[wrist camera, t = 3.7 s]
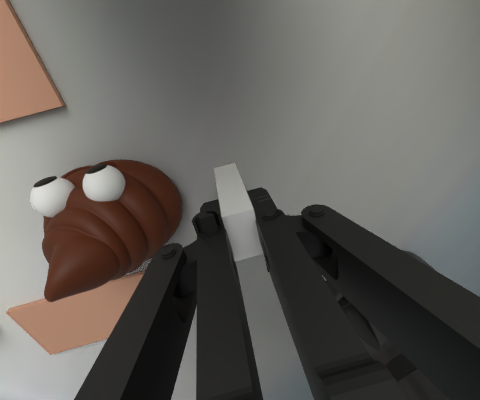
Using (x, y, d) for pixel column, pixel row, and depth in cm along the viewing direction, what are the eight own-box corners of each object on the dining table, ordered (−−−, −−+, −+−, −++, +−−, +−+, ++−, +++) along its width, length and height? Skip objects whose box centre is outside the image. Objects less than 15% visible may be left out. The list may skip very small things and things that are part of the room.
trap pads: (178, 314, 27) (178, 317, 26) (52, 351, 26) (50, 354, 26) (-9, -31, 13) (-15, -34, 13) (-276, 35, 13) (-289, 34, 12)
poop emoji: (87, 257, 22) (19, 367, 14) (28, 170, 18) (-117, 251, 10) (195, 229, 22) (193, 319, 14) (161, 137, 18) (131, 188, 10)
